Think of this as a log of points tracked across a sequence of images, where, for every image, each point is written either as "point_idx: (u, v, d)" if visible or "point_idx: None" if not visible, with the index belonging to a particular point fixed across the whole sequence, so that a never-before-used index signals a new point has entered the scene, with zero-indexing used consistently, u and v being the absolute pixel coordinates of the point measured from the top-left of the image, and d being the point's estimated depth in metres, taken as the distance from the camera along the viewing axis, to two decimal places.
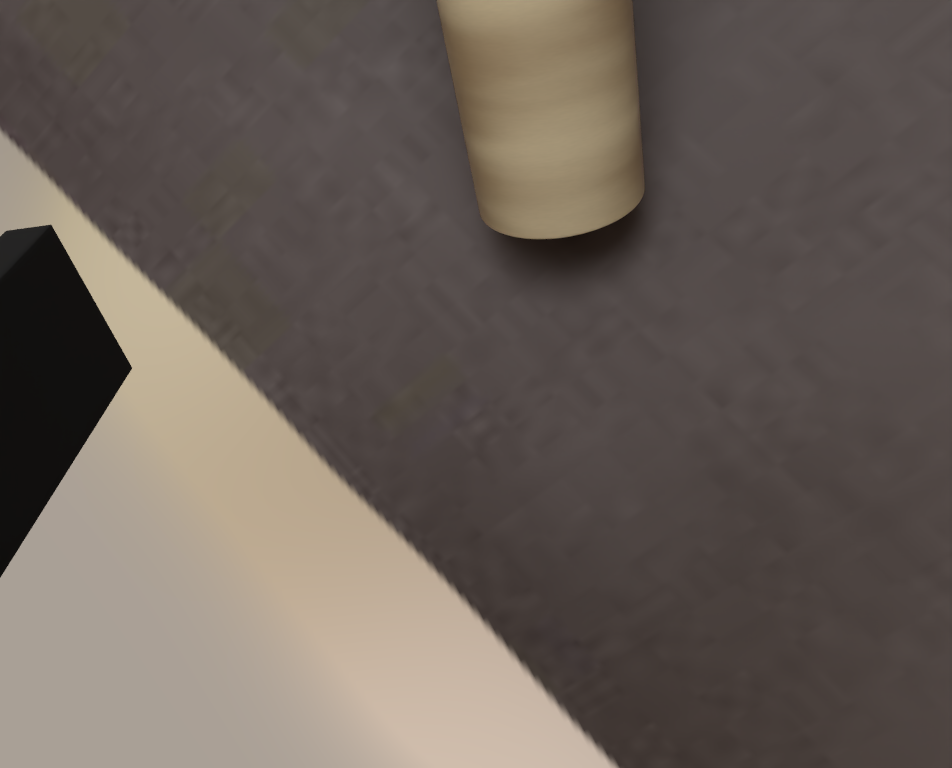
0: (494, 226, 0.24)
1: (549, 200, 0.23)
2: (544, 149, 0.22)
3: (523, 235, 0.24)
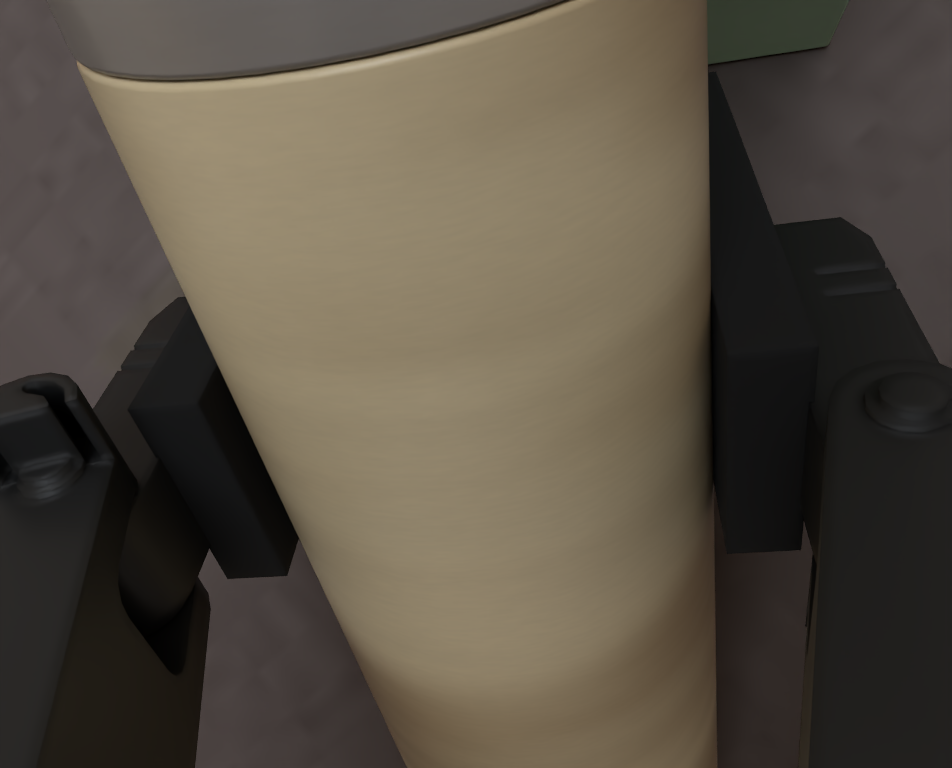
0: None
1: None
2: None
3: None
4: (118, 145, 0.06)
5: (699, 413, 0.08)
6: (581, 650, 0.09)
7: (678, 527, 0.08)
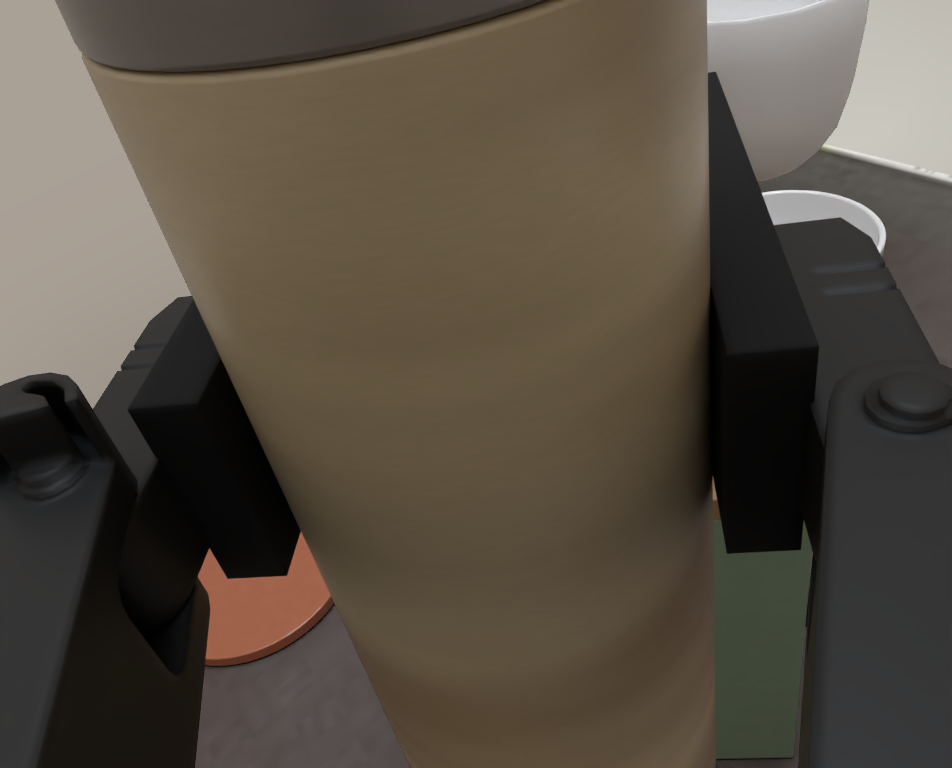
0: None
1: None
2: None
3: None
4: (122, 137, 0.06)
5: (698, 407, 0.08)
6: (579, 643, 0.09)
7: (677, 520, 0.08)
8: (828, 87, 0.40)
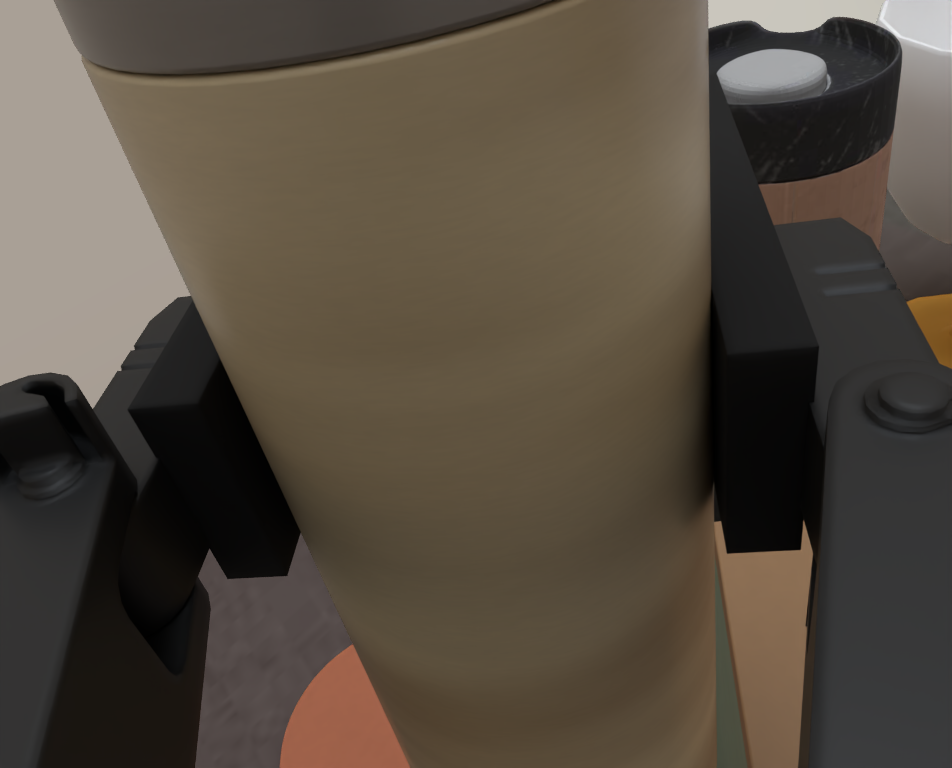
0: None
1: None
2: None
3: None
4: (122, 139, 0.06)
5: (699, 409, 0.08)
6: (580, 645, 0.09)
7: (678, 522, 0.08)
8: None
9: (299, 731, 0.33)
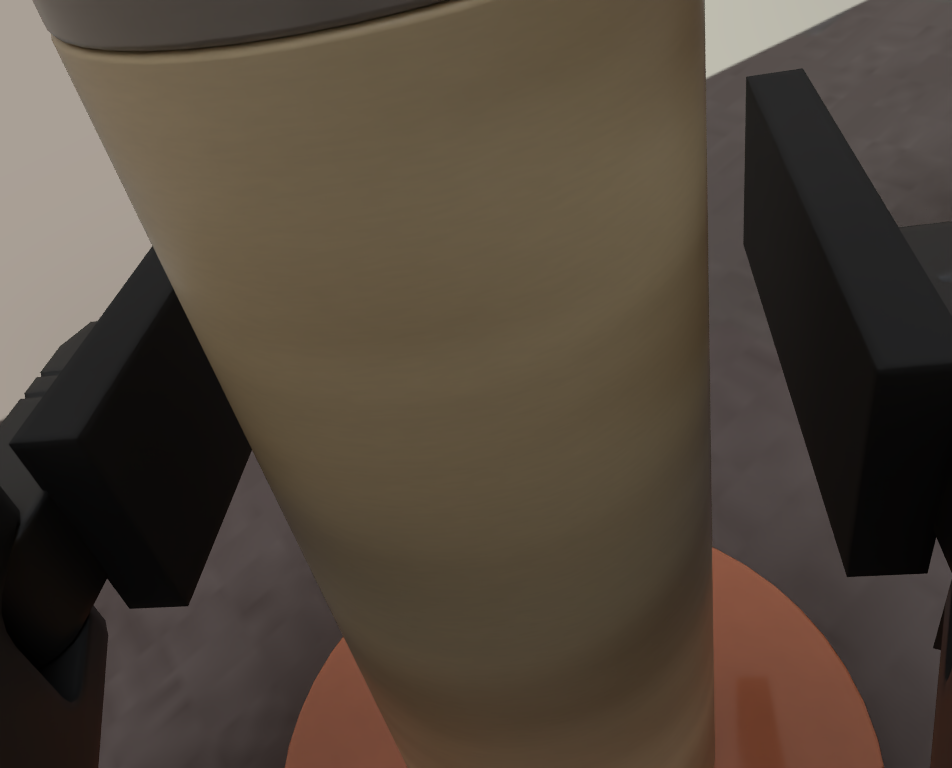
0: None
1: None
2: None
3: None
4: (95, 121, 0.06)
5: (696, 399, 0.08)
6: (574, 640, 0.08)
7: (674, 516, 0.08)
8: None
9: (321, 740, 0.15)
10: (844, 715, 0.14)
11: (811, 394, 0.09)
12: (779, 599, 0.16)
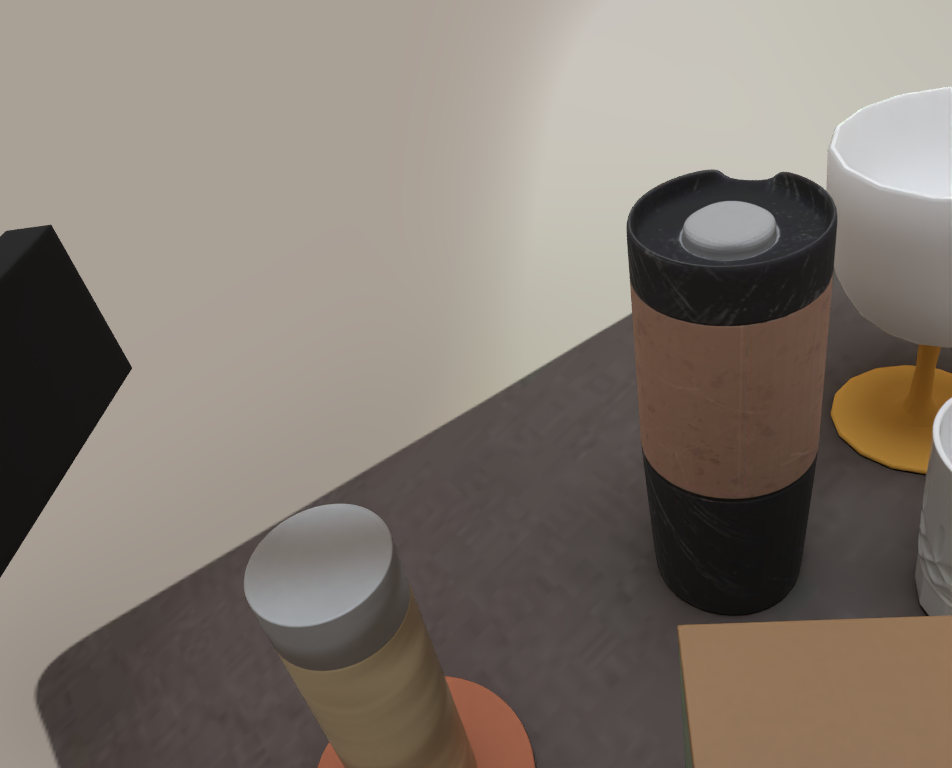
0: None
1: None
2: None
3: None
4: None
5: (426, 697, 0.30)
6: (397, 758, 0.31)
7: (423, 725, 0.31)
8: None
9: None
10: None
11: None
12: (514, 719, 0.38)
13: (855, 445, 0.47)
